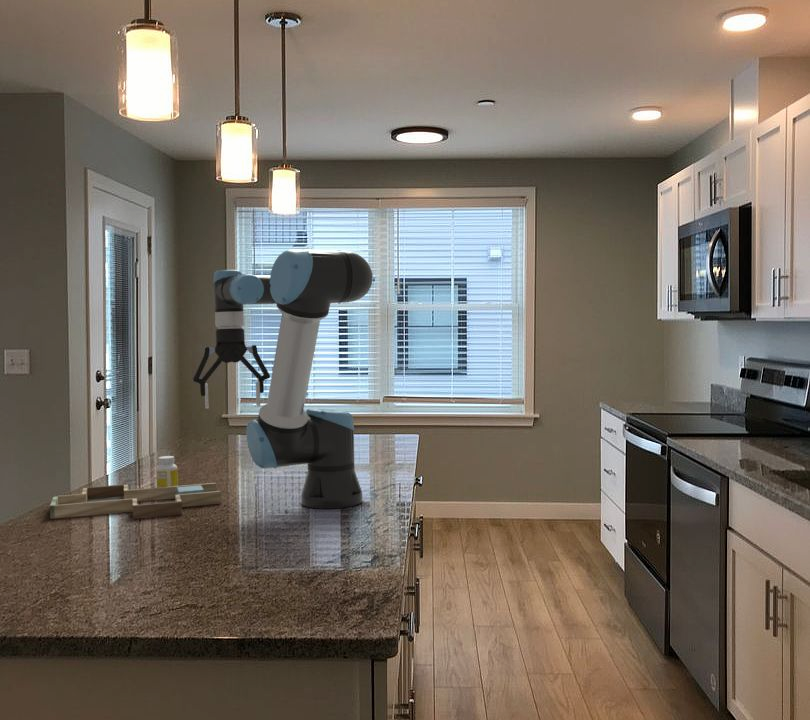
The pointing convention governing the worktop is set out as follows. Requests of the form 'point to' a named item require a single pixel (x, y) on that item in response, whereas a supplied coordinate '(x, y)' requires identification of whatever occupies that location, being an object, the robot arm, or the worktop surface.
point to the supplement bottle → (167, 472)
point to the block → (190, 489)
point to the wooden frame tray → (131, 501)
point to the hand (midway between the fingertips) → (232, 406)
